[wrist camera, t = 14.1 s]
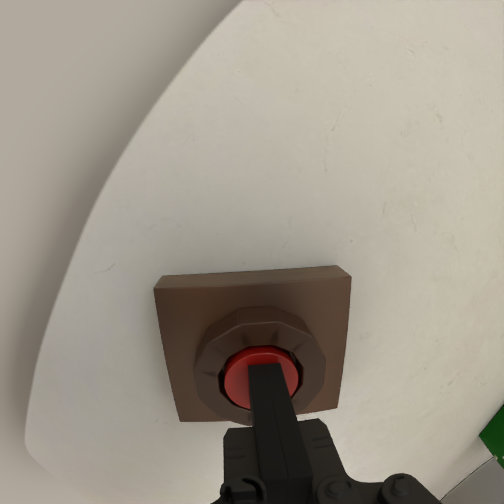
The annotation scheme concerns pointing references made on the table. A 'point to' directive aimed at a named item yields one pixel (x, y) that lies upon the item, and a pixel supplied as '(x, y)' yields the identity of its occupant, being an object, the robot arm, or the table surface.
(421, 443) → the table surface
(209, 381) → the control block
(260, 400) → the robot arm
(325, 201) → the table surface
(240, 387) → the red push button
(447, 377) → the table surface
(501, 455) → the milk carton
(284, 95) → the table surface
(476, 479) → the container
